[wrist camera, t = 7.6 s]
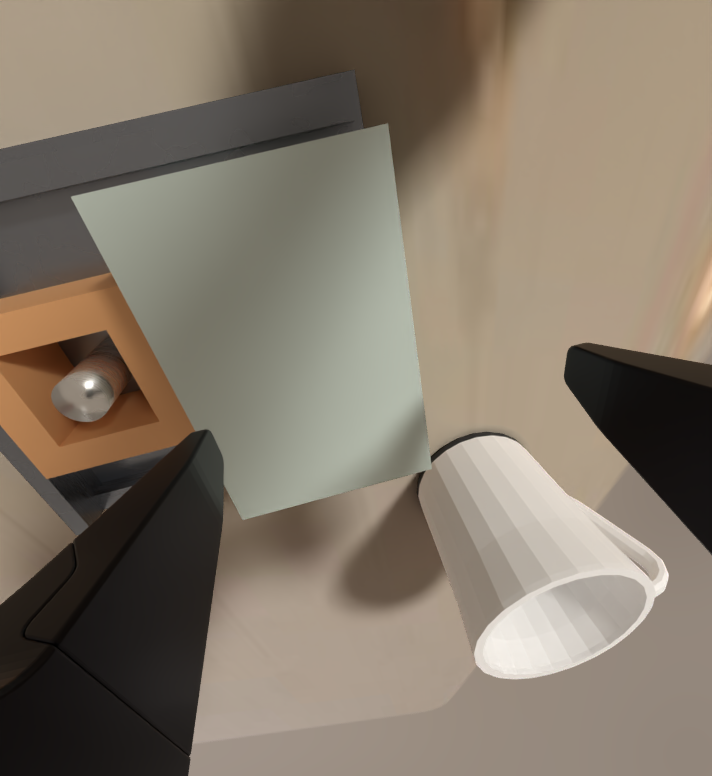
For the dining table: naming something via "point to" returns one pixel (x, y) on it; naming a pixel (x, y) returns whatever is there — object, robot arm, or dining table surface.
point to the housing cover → (278, 312)
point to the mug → (531, 560)
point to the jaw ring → (50, 365)
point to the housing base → (83, 259)
